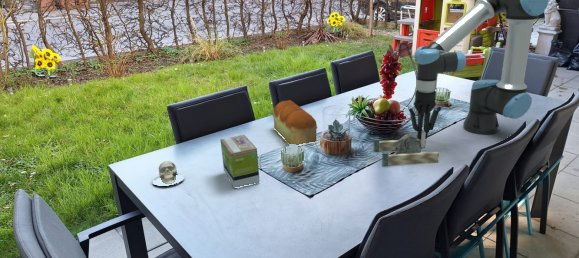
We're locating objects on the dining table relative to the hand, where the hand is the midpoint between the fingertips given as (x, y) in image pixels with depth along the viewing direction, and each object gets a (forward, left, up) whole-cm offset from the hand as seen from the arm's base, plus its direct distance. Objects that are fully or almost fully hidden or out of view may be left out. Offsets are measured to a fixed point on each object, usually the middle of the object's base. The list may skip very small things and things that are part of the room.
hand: (421, 146), depth 172 cm
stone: (+5, 0, -4) cm, 7 cm away
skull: (+100, +9, -5) cm, 101 cm away
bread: (+50, -29, -4) cm, 58 cm away
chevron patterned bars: (+7, 0, -4) cm, 8 cm away
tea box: (+73, +11, -4) cm, 74 cm away
